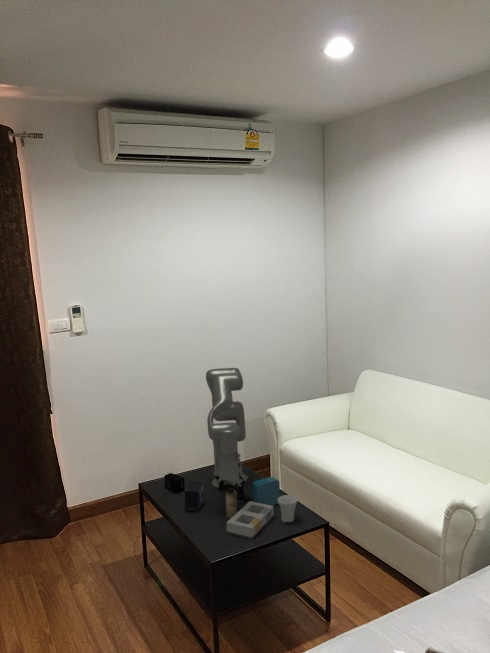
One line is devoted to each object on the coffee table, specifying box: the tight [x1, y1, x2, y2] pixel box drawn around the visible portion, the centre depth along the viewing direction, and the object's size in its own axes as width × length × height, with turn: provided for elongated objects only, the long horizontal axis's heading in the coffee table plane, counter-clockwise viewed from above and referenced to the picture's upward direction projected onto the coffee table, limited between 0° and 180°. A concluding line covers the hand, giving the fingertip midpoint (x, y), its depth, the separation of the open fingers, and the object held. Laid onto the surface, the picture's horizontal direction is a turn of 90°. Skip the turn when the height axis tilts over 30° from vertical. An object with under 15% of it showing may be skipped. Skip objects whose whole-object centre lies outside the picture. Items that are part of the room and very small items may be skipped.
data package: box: [252, 476, 281, 506], centre depth 251 cm, size 12×4×12 cm, turn 118°
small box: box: [184, 480, 205, 513], centre depth 251 cm, size 11×6×10 cm, turn 168°
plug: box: [224, 488, 238, 519], centre depth 242 cm, size 5×5×12 cm
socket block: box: [226, 501, 275, 540], centre depth 233 cm, size 22×12×5 cm, turn 152°
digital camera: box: [163, 472, 186, 494], centre depth 271 cm, size 10×5×7 cm, turn 49°
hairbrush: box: [222, 484, 253, 503], centre depth 260 cm, size 8×4×25 cm
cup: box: [277, 494, 299, 523], centre depth 236 cm, size 9×9×10 cm
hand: (231, 492), depth 241 cm, fingers open, 9 cm apart
